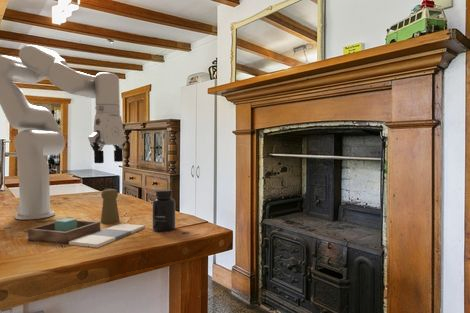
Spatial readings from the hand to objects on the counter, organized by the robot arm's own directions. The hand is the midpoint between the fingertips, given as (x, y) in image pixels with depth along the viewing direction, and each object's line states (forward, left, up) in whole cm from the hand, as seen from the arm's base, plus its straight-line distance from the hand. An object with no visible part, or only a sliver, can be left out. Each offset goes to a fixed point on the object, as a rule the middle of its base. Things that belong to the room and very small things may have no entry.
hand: (109, 162), depth 114 cm
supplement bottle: (+23, -4, -20) cm, 31 cm away
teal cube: (0, -19, -20) cm, 27 cm away
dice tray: (0, -19, -20) cm, 28 cm away
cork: (0, 0, -20) cm, 20 cm away
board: (+12, -15, -20) cm, 28 cm away
